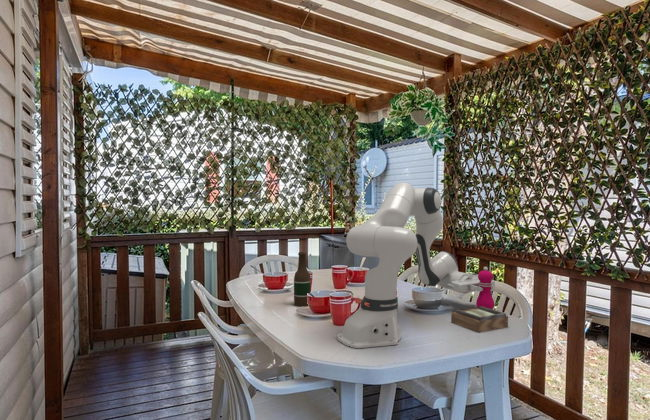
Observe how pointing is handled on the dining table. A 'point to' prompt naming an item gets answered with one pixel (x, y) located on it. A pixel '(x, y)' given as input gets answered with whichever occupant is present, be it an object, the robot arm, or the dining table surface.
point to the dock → (480, 319)
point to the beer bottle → (301, 282)
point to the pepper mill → (485, 289)
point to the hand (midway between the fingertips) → (487, 288)
